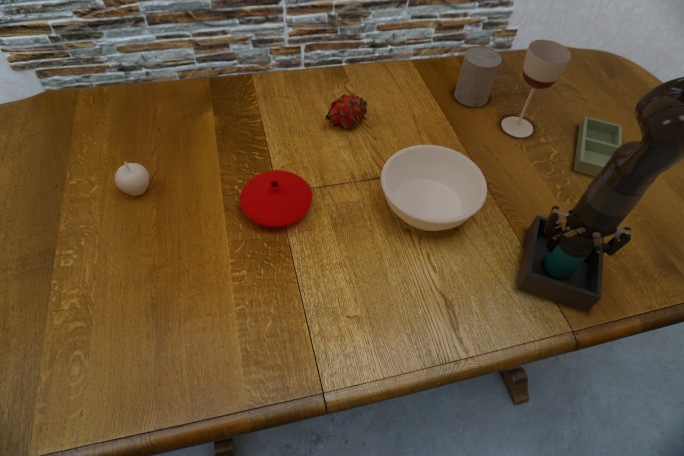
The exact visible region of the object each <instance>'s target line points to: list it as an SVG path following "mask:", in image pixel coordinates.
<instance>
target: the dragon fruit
mask: <svg viewBox="0 0 684 456" xmlns="http://www.w3.org/2000/svg"><path fill="white" fill-rule="evenodd" d="M329 107H330V108H329V110H328V112H327V114H326V115H325V119H324V120H325V122H327V120H328V121H329V125H330V126H332V127H335V128H336V127H338V128H339V125H340V126H341V128H342V129H343V130H345V129H351V128H353V127H354V126H355V124H358V125H361V124H362V123H363V120H365V119H366V117H367V116H366V114H367V112H368V102H367V101H366V100H364V98H363V97H360V96H358V95H354V94H352V93H350V94H348V95H347V94H345V93H344V94H342V95H341V96H340V97H338V98H337V99H336V100H333V101H331V104H330V106H329Z"/></svg>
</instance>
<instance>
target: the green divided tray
mask: <svg viewBox="0 0 684 456" xmlns="http://www.w3.org/2000/svg"><path fill="white" fill-rule="evenodd" d="M577 131H578V132H577V138H576V139H577V140H576V149H575V156H574V157H575V158H574V165H573V171H574V172H577V173H580V174H584V175H587V176H590V177H591V176H592V177H594V178H595V177H596V175H597V174H598V173H599V172H600V171H601V170H602V169H603V168H604V166H605V165H606V163H607V162H608V160H609V159H610V157H611V156H612V155H613V153H614V152H615V151H616V149H617V148H618V147H619V146H620V145H622V144H623V125H621V124H617V123H614V122H610V121H606V120H602V119H599V118H596V117H595V118H594V117H592V116H591V117H590V116H586V115H585V116H584V117H583V118H582V120H581V122H580V124H579V126H578V130H577Z"/></svg>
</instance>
